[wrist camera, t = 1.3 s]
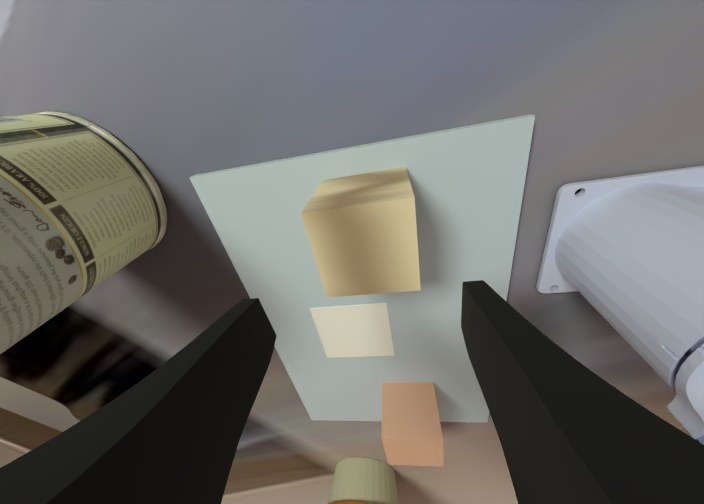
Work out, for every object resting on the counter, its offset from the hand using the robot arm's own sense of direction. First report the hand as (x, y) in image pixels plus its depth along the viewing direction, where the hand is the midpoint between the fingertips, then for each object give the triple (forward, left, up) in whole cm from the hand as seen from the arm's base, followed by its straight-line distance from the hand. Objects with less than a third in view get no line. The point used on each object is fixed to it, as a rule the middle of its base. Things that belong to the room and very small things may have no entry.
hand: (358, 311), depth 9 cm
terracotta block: (-1, +21, -9) cm, 23 cm away
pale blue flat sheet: (+1, +11, -9) cm, 15 cm away
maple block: (0, 0, -9) cm, 9 cm away
